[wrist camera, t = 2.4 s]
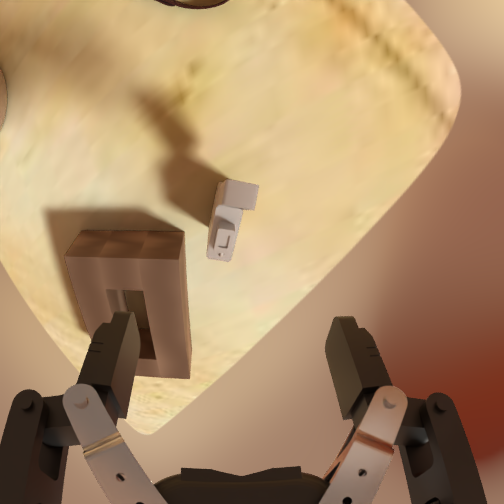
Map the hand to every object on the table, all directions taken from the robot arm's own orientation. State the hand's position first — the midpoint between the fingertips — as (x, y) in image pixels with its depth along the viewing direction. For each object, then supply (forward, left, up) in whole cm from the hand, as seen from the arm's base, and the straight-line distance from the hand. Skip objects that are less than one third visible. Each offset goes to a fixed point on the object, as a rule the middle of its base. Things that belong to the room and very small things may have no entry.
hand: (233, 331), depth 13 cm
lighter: (0, 0, -14) cm, 14 cm away
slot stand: (-8, -11, -14) cm, 20 cm away
